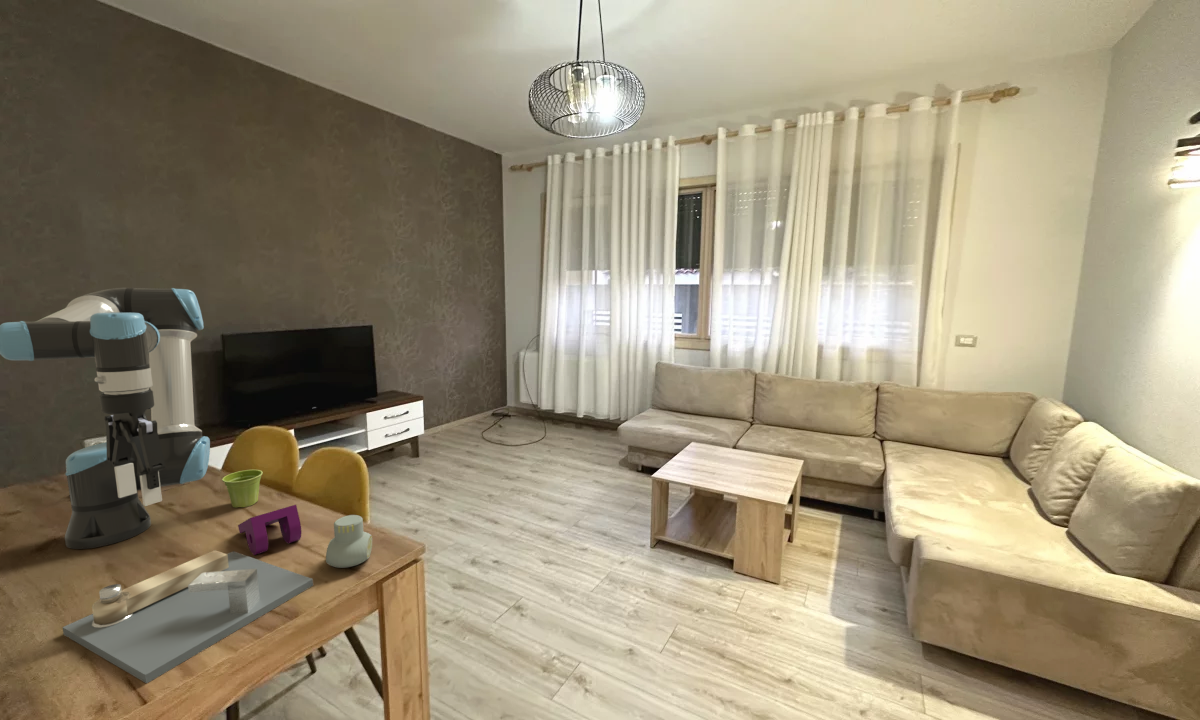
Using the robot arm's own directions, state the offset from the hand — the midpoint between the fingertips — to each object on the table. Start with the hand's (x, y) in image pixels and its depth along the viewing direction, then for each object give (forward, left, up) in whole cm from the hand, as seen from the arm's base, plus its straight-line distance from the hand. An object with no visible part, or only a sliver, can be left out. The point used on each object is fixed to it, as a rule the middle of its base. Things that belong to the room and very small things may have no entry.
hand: (140, 498), depth 97 cm
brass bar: (+9, -1, -17) cm, 19 cm away
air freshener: (+30, +24, -20) cm, 43 cm away
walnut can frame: (-66, +26, -19) cm, 74 cm away
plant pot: (-24, +33, -20) cm, 46 cm away
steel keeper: (+24, +1, -18) cm, 30 cm away
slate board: (+17, 0, -19) cm, 26 cm away
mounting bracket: (+2, +23, -20) cm, 30 cm away
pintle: (+9, -9, -18) cm, 22 cm away
